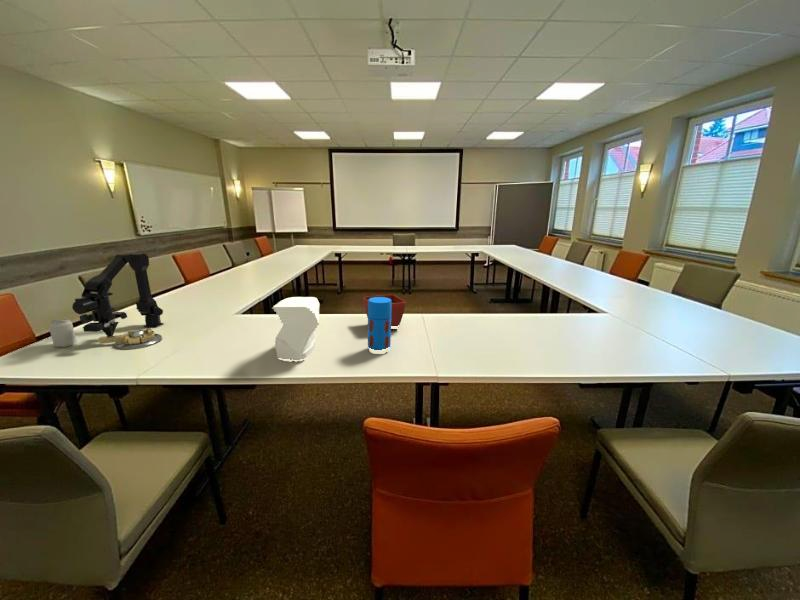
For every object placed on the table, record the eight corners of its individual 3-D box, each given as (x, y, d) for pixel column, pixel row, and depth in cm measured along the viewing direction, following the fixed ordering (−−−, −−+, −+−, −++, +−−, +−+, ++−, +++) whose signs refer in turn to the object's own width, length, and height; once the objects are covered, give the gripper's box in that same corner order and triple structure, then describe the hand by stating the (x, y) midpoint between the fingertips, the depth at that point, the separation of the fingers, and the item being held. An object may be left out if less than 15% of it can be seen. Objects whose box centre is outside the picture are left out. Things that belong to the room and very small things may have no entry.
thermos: (378, 356, 151) (379, 304, 144) (363, 350, 158) (363, 299, 151) (394, 350, 159) (396, 300, 152) (379, 343, 166) (380, 295, 159)
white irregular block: (266, 364, 140) (261, 306, 133) (293, 340, 166) (290, 291, 159) (314, 368, 138) (312, 309, 131) (334, 344, 164) (333, 293, 157)
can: (62, 349, 148) (56, 323, 145) (49, 347, 150) (43, 322, 147) (81, 342, 156) (75, 318, 152) (68, 341, 157) (62, 317, 154)
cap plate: (137, 334, 168) (135, 324, 166) (171, 336, 166) (169, 326, 165) (104, 348, 150) (101, 337, 149) (141, 350, 149) (139, 339, 148)
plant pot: (362, 323, 194) (362, 296, 190) (392, 320, 201) (393, 294, 197) (372, 335, 177) (373, 305, 173) (405, 331, 184) (406, 302, 180)
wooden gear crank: (157, 333, 166) (156, 326, 165) (150, 342, 155) (149, 335, 154) (105, 338, 158) (104, 331, 157) (94, 347, 147) (93, 340, 146)
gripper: (99, 300, 159) (107, 330, 164) (65, 313, 141) (75, 347, 146) (124, 300, 160) (131, 330, 165) (93, 313, 142) (101, 346, 147)
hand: (110, 338), depth 156 cm, fingers closed
